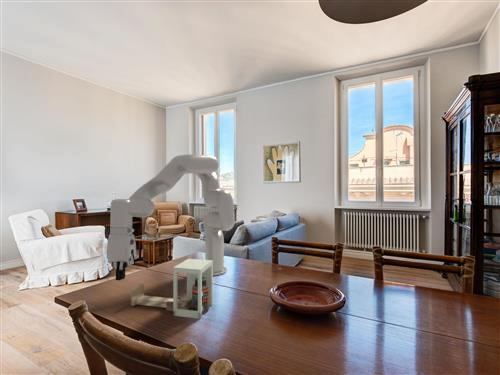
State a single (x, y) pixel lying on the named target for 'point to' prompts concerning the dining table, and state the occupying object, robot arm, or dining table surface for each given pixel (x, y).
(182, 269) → the tunnel
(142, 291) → the rod
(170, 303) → the guide
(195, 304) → the supplement bottle
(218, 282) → the dining table surface
